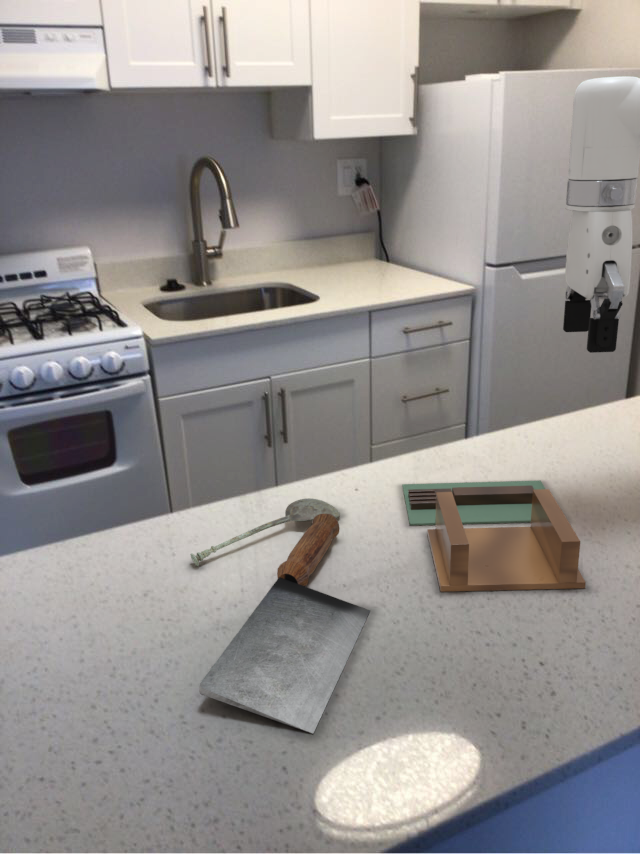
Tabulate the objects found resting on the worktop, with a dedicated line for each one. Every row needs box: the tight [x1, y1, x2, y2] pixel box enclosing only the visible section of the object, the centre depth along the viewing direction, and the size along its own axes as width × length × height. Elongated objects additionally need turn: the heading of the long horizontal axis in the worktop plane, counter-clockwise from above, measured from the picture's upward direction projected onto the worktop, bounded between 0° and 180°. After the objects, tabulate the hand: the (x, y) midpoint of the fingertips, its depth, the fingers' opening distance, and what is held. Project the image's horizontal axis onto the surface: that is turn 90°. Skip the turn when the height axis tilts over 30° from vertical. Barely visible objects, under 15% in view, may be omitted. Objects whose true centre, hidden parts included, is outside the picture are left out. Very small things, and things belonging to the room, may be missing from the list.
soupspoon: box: [190, 497, 341, 567], centre depth 97 cm, size 22×3×7 cm
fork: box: [408, 486, 534, 510], centre depth 104 cm, size 17×4×2 cm, turn 89°
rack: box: [426, 488, 587, 593], centre depth 89 cm, size 16×13×6 cm
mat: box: [401, 479, 546, 526], centre depth 104 cm, size 20×12×1 cm, turn 89°
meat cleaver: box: [198, 514, 371, 734], centre depth 81 cm, size 34×11×4 cm, turn 162°
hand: (587, 341), depth 93 cm, fingers open, 9 cm apart
